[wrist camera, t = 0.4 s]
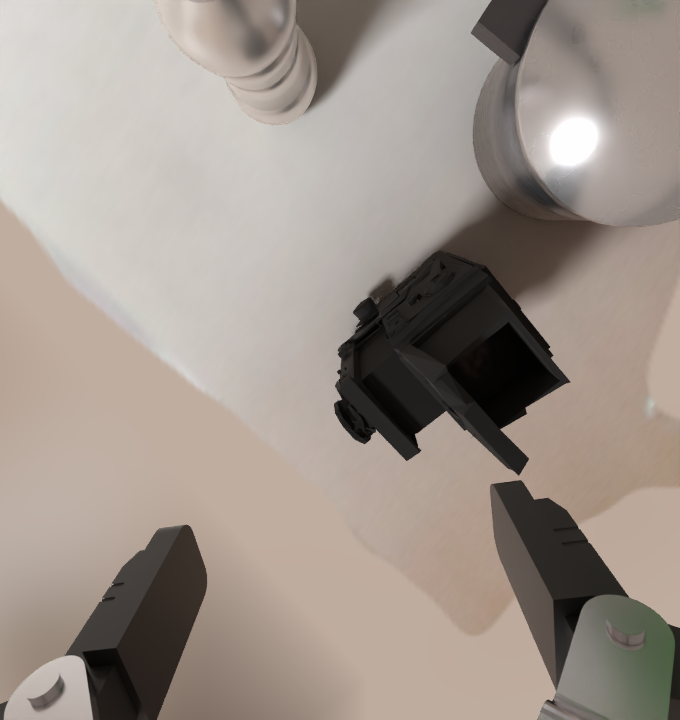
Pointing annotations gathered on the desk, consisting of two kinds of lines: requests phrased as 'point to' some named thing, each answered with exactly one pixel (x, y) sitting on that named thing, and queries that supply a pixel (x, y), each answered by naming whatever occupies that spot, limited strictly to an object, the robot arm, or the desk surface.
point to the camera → (444, 360)
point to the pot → (582, 109)
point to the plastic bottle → (248, 52)
